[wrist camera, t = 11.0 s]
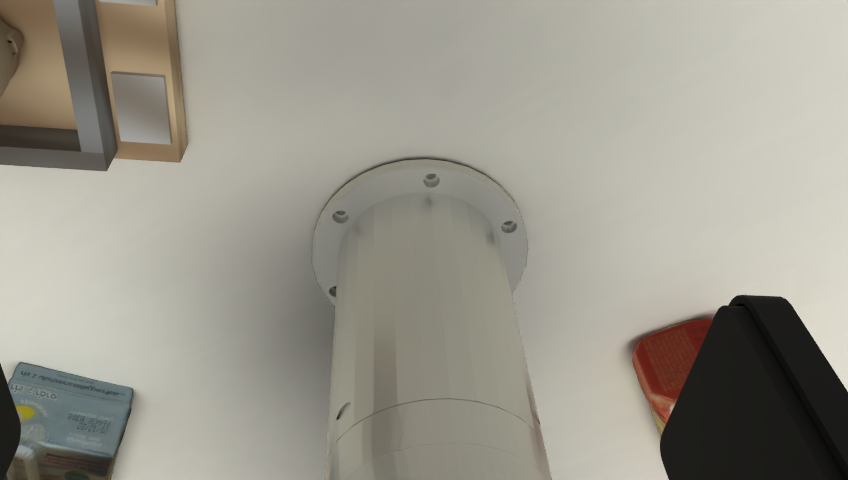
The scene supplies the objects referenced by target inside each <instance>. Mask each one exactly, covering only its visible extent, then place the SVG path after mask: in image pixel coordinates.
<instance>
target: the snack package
mask: <svg viewBox="0 0 848 480" xmlns="http://www.w3.org/2000/svg"><path fill="white" fill-rule="evenodd" d="M712 321H713V319H709V318H707V319H698V320H691V321H687V322H682V323H679V324H676V325H673V326H670V327H667V328H664V329H662V330H659V331H657V332H654V333H652V334H651V335H649V336H647V337H645V338H644V339H642V340H641V341H639V342H638V344H637V346H636V348H635V350H634V352H633V365H634V369H635V371H636V374H637V377H638V380H639V383H640V385H641V388H642V390H643V392H644V394H645V396H646V398H647V400H648V403H649V405H650V408H651V411H652V414H653V417H654V420H655V423H656V426H657V429H658V432H659V434H660V437H661V435H662V432H663V430H664V428H665V425H666V423H667V421H668V419H669V416H670V414H671V412H672V410H673V408H674V405H675V403H676V401H677V399H678V397H679V394H680V392H681V390H682V388H683V385H684V383H685V381H686V379H687V377H688V374H689V372H690V370H691V368H692V365H693V363H694V361H695V359H696V357H697V354H698V352H699V350H700V348H701V346H702V343H703V341H704V339H705V337H706V334H707V332H708V330H709V328H710V326H711V323H712Z"/></svg>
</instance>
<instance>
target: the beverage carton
mask: <svg viewBox="0 0 848 480" xmlns="http://www.w3.org/2000/svg"><path fill="white" fill-rule="evenodd" d="M8 387H9V390H10V393H11V395H12V398H13V401H14V404H15V407H16V410H17V413H18V415H19V418H20V423H21V436H20V442H19V446H18V448H17V451H16V453H15V456H14V458H13V460H12V462H11V464H10V467H9V469H8V471H7V473H6V475H5V478H4V480H111V477H112V473H113V468H114V464H115V461H116V457H117V453H118V449H119V446H120V444H121V441H122V438H123V435H124V432H125V428H126V425H127V422H128V419H129V416H130V413H131V401H132V395H133V389H132V388H130V387H126V386H121V385H116V384H111V383H107V382H102V381H98V380H93V379H89V378H85V377H81V376H77V375H73V374H68V373H64V372H60V371H55V370H51V369H46V368H43V367H39V366H34V365H29V364H25V363H19V364H18V365H17V367H16V369H15V371H14V374H13V376H12V378H11V379H10V381H9V383H8Z"/></svg>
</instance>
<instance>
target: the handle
mask: <svg viewBox="0 0 848 480" xmlns="http://www.w3.org/2000/svg"><path fill="white" fill-rule="evenodd" d="M22 45H23V39H22V36H21V34H20V33H19V31H18V30H17V29H13V28H12V27H10V26H8V25H7V24H6V23H5V22H3V21H2V20H1V19H0V98H1V96H2V95H3V93H4V91H5V89H6V88H7V86H8V84H9V81H10V80H11V79H12V78H13V76H14V75H15V73H16V71H17V69H18V66H19V63H18V61H17V54H18V52H19V50H20V49H21V48H22Z"/></svg>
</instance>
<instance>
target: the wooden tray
mask: <svg viewBox="0 0 848 480" xmlns="http://www.w3.org/2000/svg"><path fill="white" fill-rule="evenodd" d="M0 19H1V20H2V21H3V22H5V23H6V24H7V25H8V26H10V27H12V28H13V29H17V30H18V31H19V33H20V34H21V36H22V39H23V45H22V48H21V49H20V50H19V52H18V54H17V61H18V63H19V66H18V69H17V71H16V73H15V75H14V76H13V78H12V79H11V80H10V81H9V84H8V86H7V88H6V89H5V91H4V93H3V95H2V96H1V98H0V165H16V166H32V167H47V168H63V169H79V170H94V171H107V170H108V168H109V166H110V164H111V162H112V160H113V158H119V159H134V160H149V161H165V162H181V160H182V157H183V154H184V152H185V149H186V147H187V135H186V124H185V113H184V103H183V92H182V81H181V70H180V59H179V48H178V37H177V26H176V15H175V4H174V0H0Z"/></svg>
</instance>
